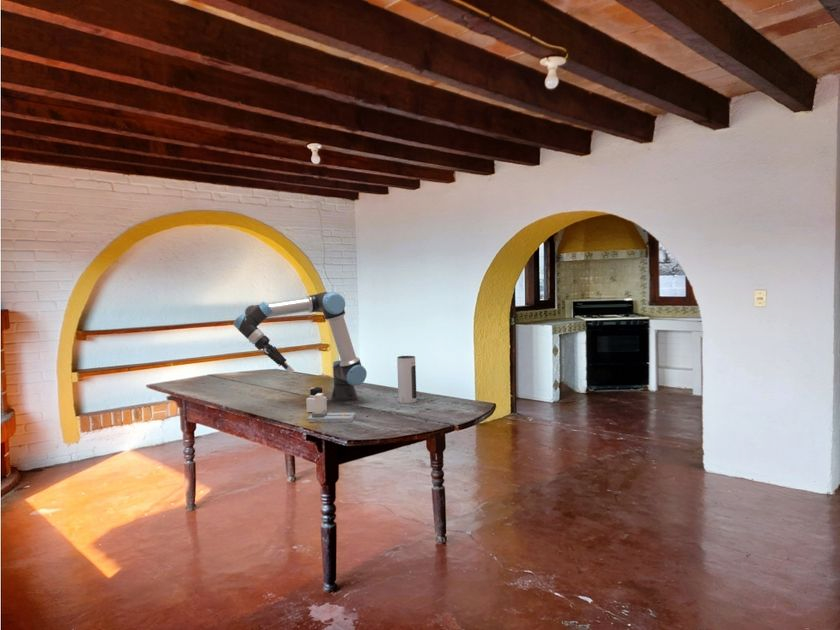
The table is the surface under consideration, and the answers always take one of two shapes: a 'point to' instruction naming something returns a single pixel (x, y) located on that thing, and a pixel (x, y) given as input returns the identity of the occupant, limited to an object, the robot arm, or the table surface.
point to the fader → (319, 406)
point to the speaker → (406, 379)
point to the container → (311, 399)
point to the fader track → (334, 417)
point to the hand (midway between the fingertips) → (292, 372)
